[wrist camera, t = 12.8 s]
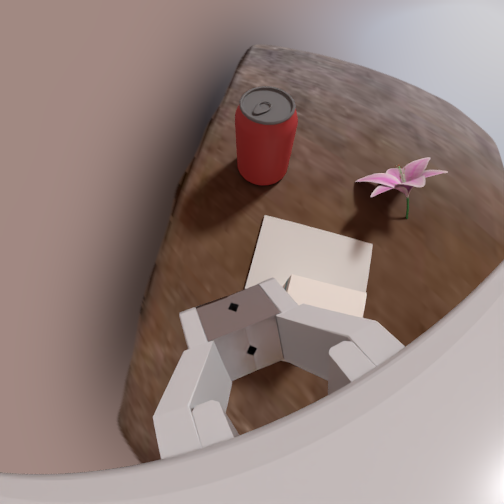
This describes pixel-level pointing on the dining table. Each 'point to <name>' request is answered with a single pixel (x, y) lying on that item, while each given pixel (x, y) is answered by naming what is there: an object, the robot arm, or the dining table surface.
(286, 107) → the beer can
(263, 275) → the mat
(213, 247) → the dining table surface
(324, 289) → the card box
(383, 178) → the lily
